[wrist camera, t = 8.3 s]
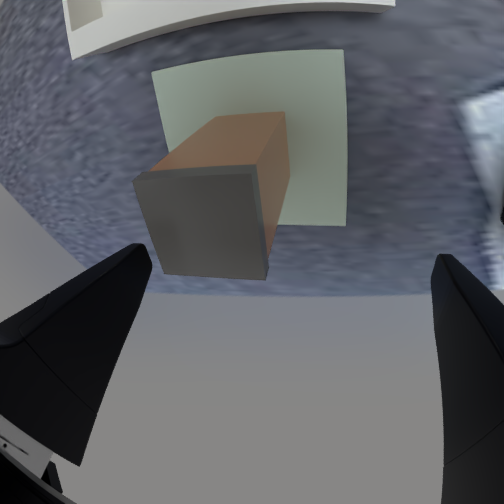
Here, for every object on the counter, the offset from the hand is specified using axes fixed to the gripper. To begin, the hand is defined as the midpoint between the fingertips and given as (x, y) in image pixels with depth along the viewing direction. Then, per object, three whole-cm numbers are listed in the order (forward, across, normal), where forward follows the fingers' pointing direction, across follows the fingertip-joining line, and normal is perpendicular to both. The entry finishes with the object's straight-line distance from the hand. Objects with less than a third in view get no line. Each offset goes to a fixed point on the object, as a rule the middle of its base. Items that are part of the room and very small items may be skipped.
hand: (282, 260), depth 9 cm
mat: (+13, +4, 0) cm, 13 cm away
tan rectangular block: (+12, +4, 0) cm, 12 cm away
